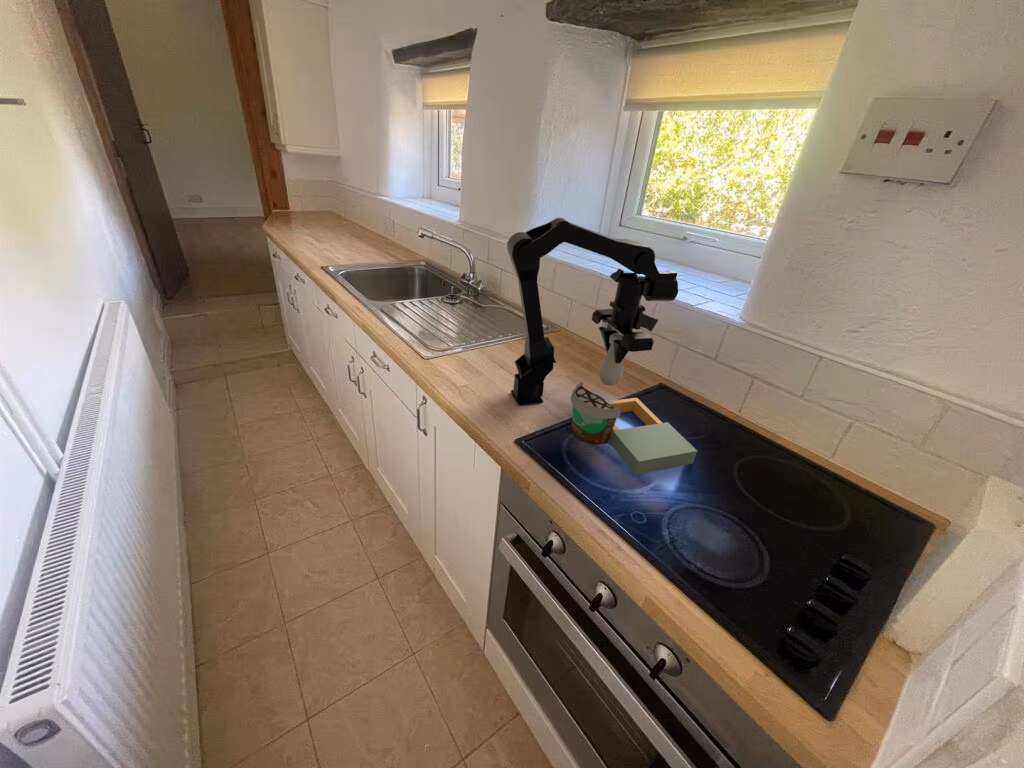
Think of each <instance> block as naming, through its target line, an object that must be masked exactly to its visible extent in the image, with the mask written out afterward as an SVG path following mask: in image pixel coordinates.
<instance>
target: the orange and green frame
mask: <svg viewBox="0 0 1024 768" xmlns="http://www.w3.org/2000/svg"><path fill="white" fill-rule="evenodd" d="M606 402H607V403H608V404H609V405H611V406H612V407H614V408H618V407H620V410H621V413H627V412H633V413H634V414H635V415H636V416H637V417H638V418H639V419H640V420H641V422H643V423H644V425H641V426H635V427H634V426H633V427H628V428H622V429H619V427H618V426H617V425H616V423H615V424H614V427H613V430H612V432H611V435H610V438H609V440H610V441H609V445H610V446H611V447H612V448H613V449H614V450H615V451H616V453H617V454H618V455H619V457H620V458H621V459H622V461H623V462H624V463H625V465H626V466H627V467H628V469H629V470H630V471H631V472H632V473H633V475H634V476H636V475H641V474H645V473H652V472H657V471H662V470H666V469H672V468H678V467H684V466H687V465H693V464H694V462H695V458H696V456H697V453H698V450H697V449H696V448H695V447H694V446H693V445H692V444H691V443H690V442H689V441H688V440H687V439H686V438H685V437H684V436H682V434H681V433H679V432H678V431H677V430H676V428H674V427H673V426H672V425H671V424H670V423H669V422H666V421H665V422H663V421H661V420H660V419H659V418H658V417H657V416H656V415H655V414H654V412H652V411H651V410H650V409H649V408H648V407H647V406H646V405H645V404H644V403H643V402H642V401H641V400H640V399H639V398H638V397H632V398H624V399H623V398H622V399H615V400H614V399H613V400H607V401H606Z"/></svg>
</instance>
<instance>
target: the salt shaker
mask: <svg viewBox="0 0 1024 768" xmlns="http://www.w3.org/2000/svg"><path fill="white" fill-rule="evenodd" d="M621 337H622V335H621V334H619V333H613V334H612V335H610V339H609V343H610V344H611V345H610V348H609V350H608V353H607V352H606V354H605V358H604V359H603V362H602V364H601V366H600V369H599V373H598V374H599V378H600V382H601V383H602V384H604V385H607V386H612V387H613V386H615V385H618V384H619V382H621V380H622V378H623V374H624V373H623V371H624V359H623V360H622V362H621V363H617V364H616V362H615V356H614V340H621Z"/></svg>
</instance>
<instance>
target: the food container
mask: <svg viewBox="0 0 1024 768" xmlns="http://www.w3.org/2000/svg"><path fill="white" fill-rule="evenodd" d="M583 383H584V382H583V381H582V382H580V383H578V384H577V385H576V386H575V387H574V389H573V391H572V393H571V395H570V402H571V404H572V416H571V429H570V430H571V434H572V435H573V436H574V437H575V439H577V440H579V441H580V442H583V443H585V444H589V445H595V446H596V445H598V446H599V445H604V444H608V443H609V440H610V435H611V432H612V430H613V427H614V424H615V425H616V422H617V418H621V413H622V412H621V410H620V407H618V408H614V407H612V406H611V405H609V404H608V403H607V401H606V400H605V399H604V398H603V397H602V396H600V395H598V394H597V393H594V392H592V391H590V390H588V389H587V388H586V387H584V386H583Z"/></svg>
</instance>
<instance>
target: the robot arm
mask: <svg viewBox="0 0 1024 768" xmlns="http://www.w3.org/2000/svg"><path fill="white" fill-rule="evenodd" d="M564 243H567V244H570V245H573V246H575V247H578V248H581V249H583V250H586V251H589V252H592V253H595V254H598V255H600V256H604V257H606V258H609V259H612V260H613V261H614V262H617V263H618V264H619V265H620V266H623V267H624V268H626V269H627V270H629V271H631V272H625V271H624V270H623V269H621V268H618V269H617V270H616V271H615V272H613V273H611V274H609V278H611V280H613V282H615V283H617V286H616V291H615V297H614V301H613V300H612V301H611V300H610V302H609V307H611V308H607V309H606V308H602V309H596V310H595V311H593V312H592V314H591V315H592V316H591V321H592V322H594V324H596V325H599V324H600V323H601V322H602V324H601V326H599V327H598V330H599V331H600V334H601V338H602V341H603V344H604V347H605V351H606V354H607V353H608V350H609V348H610V345H611V344H610V343H609V339H610V335H612V334H613V333H619V334H621V335H622V337H621V340H614V356H615V362H616V364H617V363H621V362H622V360H623V361H624V359H625V357H627V354H628V353H629V352H631V353H633V352H634V353H636V352H644V351H645V352H646V351H652V350H653V348H654V343H655V340H654V339H653V338H652V337H651V336H649V335H648V334H647V333H646V332H644V331H638V330H641V328H643V329H646V330H648V331H649V332H653V330H654V328H655V327H656V325H657V324H658V321H659V318H657V317H655V316H654V315H652V314H651V313H649V312H647V311H646V306H644V305H642V304H641V301H642V297H644V299H645V301H646V302H672V301H673V302H674V300H676V298H677V296H678V293H679V283H678V279H677V276H678V272H676V271H675V270H663V271H662V270H659V269H658V267H657V265H656V263H655V261H656V254H655V250H654V249H652V248H651V247H649V246H647V245H645V244H643V243H641V242H640V241H638V240H632V239H625V238H613V237H610V236H607V235H605V234H603V233H600V232H597V231H594V230H592V229H588V228H587V227H584V226H581V225H578V224H576V223H572V222H570V221H568V220H566V219H565V218H563V217H557V218H554V219H552V220H551V221H549V222H547V223H545V224H541V225H538V226H535V227H533V228H530V229H529V230H527V231H525V232H523V231H520V232H519V231H518V232H515V233H514V234H512V235H511V236H510V237H509V239H508V241H507V244H506V245H507V246H506V249H507V252H508V256H509V259H510V261H511V264H512V267H513V269H514V272H515V274H516V275H515V276H516V278H517V282H518V288H519V294H520V295H519V296H520V300H521V308H522V313H523V314H522V315H523V322H524V328H525V336H526V338H525V342H524V352H523V354H522V355H521V356H519V357H518V358H517V359H516V360H514V363H515V366H516V370H517V373H515V374H514V380H513V389H511V391H510V393H511V395H512V397H513V399H514V400H515V402H516V404H517V406H526V405H533V404H542V403H543V402H544V401H543V398H542V397H543V395H544V394H543V393H544V386H545V383H544V381H545V380H546V377H547V376H548V375H549V374H550V373H551V372H552V371H553V369H554V364H556V363H557V361H556V359H555V356H554V355H555V347H554V345H553V343H552V342H551V339H550V338H549V336H546V337H545V333H544V326H543V317H542V316H543V315H542V308H541V301H540V300H541V299H540V292H539V285H538V284H539V283H538V277H539V272H540V268H541V267H540V266H541V258H542V257H545V256H546V255H548V254H549V253H551V252H552V251H554V249H556V248H557V247H558V246H560V245H561V244H564ZM639 275H643V276H639ZM633 330H637V332H636V331H633Z"/></svg>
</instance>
